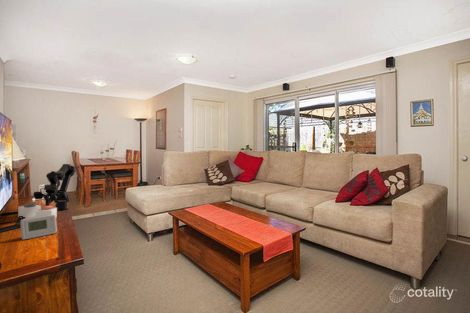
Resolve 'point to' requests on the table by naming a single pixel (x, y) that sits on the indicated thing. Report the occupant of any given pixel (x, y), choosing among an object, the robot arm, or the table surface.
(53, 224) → the digital clock
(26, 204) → the plug
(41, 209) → the red plug
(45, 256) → the table surface
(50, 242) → the table surface
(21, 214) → the socket
